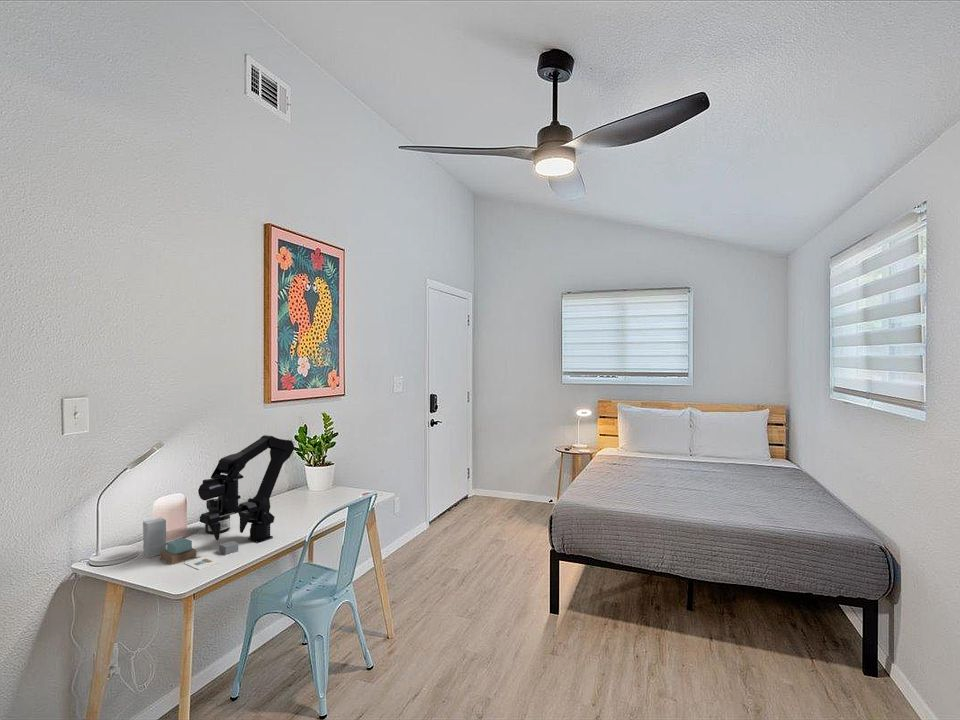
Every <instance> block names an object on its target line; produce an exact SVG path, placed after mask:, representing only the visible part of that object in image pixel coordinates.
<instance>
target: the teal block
mask: <svg viewBox="0 0 960 720" xmlns="http://www.w3.org/2000/svg"><path fill="white" fill-rule="evenodd" d="M192 545H193V540H191V539H187V538H185V537H181V538H178V539H173V540H171V541H170V540H169V541H168V542H167V541H166V550H167V551H168V552H171V553H173V554H179V553H182V552H185V551H188V550H191V549H192V548H193V546H192Z"/></svg>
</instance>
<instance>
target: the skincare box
mask: <svg viewBox="0 0 960 720" xmlns="http://www.w3.org/2000/svg"><path fill="white" fill-rule="evenodd" d="M166 520H167V519H165V518H163V517H157V518H153V519H149V520H143V521H142V534H143V537H142V538H143V541H142V542H143V547H142V548H143V556H144V557H146V558H147V559H150V558H153V557H156V556H160V552H161V551H164V550H167V521H166Z"/></svg>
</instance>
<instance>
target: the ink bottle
mask: <svg viewBox="0 0 960 720" xmlns="http://www.w3.org/2000/svg"><path fill="white" fill-rule="evenodd" d="M213 499H214V501H217V500H218V498H213ZM207 510H208V511H207V512H210V511H212V509H207ZM212 512H215V513H219V512H221V511H217V509H216V510H215V511H212ZM225 514H226V513H225ZM218 522H220V534H221V533H225V532H227V531H229V530H230V529H231V515H228V516H225V517H221V518H220V520H219V521H218ZM204 526H205V527H204V530H205V531H204V532H205V533H206V534H209V535H213V532H212V530H211V528H210V526H209V525H207V524H204Z"/></svg>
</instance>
